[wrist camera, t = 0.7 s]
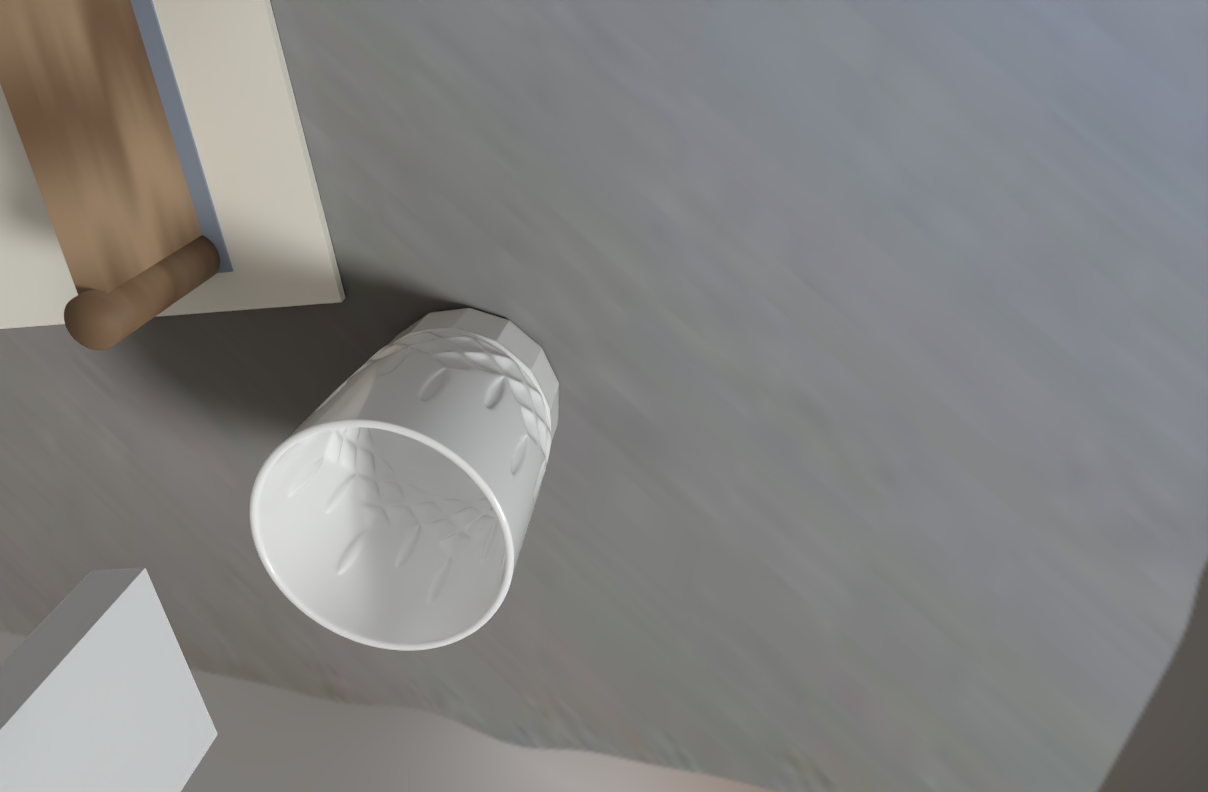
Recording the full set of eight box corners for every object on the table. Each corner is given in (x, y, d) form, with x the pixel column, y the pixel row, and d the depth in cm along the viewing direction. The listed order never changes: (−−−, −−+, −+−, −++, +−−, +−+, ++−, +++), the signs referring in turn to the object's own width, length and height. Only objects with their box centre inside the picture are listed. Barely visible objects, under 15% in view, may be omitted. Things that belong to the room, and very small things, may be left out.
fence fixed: (37, -169, 32) (-126, -178, 27) (89, -179, 32) (-64, -190, 26) (182, 280, 38) (75, 352, 33) (227, 276, 38) (127, 348, 32)
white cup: (610, 449, 39) (558, 617, 30) (429, 505, 42) (332, 675, 33) (520, 260, 37) (434, 384, 28) (332, 331, 39) (197, 466, 30)
